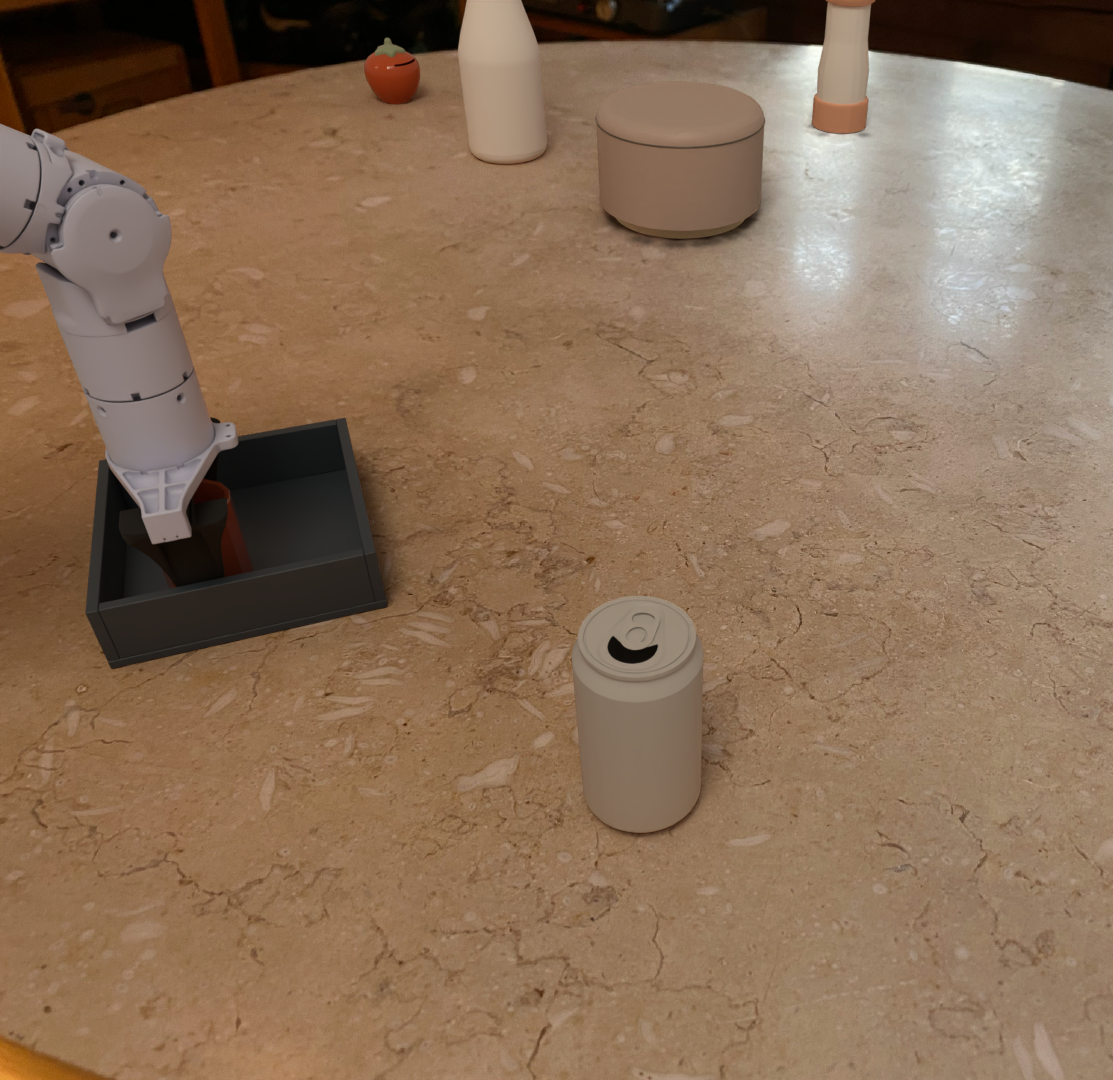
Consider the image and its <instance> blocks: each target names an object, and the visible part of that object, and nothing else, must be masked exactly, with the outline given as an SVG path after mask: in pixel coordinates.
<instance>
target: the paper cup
mask: <svg viewBox="0 0 1113 1080" xmlns="http://www.w3.org/2000/svg"><path fill="white" fill-rule="evenodd" d="M192 498H193V499H194V502H195V504H196V503H201V502H206V501H211V500H217V499H222V498H227V508H228V516H227V522H226V526H225V529H224V532H223V535H222V540H221V552H222V559H223V566H224V575H225V577H228V576H233V575H238V574H242V573H247V572H252V571H255V568H254V564H253V561H252V558H251V555H250V552H249V549H248V546H247V543H246V540H245V537H244V534H243V531H242V527H241V524H240V521H239V518H238V515H237V512H236V509H235V506H234V503H233V500H232V497H231V494H230V490H229V489H228V488H226V487H225V486H224V485H223V484H222V483H220V482H217V481H212V480H208V479H202V481H201V483H200V485H199V486H198V488H197V490H196V491H195V493H194V495H193V496H192ZM162 571H163V569H162ZM163 573H164V576H165V578H166V581H167V584H168V586H169V589H171V588H175V587H176V586H175V584H174V583H173V582H172V581H171V579H170V578H169V577H168V575H167V574H166V573H165V572H164V571H163Z"/></svg>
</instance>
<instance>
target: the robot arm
mask: <svg viewBox="0 0 1113 1080" xmlns="http://www.w3.org/2000/svg"><path fill="white" fill-rule="evenodd" d="M172 233H173V232H172V221H171V218H170V216H169V215H168V214H165V213H164V214H163V213H162V211H159V207H158V206H157V204H156V201H155V200H154V198H153V196H150V195H148V194H147V190H146V188H144V187H143V185H141V184H139V183H138V182H137V181H135V180H134V179H132V178H130V177H129V176H126V175H124V174H122V173H119V172H117V171H115V170H114V169H111V168H109V167H107V166H105V165H104V164H103V165H102V164H100V163H99V162H96V161H94V160H92V159H90V158H88V157H87V156H84V155H82V154H80V153H77V152H74V151H72V150H70V149H69V148H68V146H67V144H66V141H65V140H64V139H63V138H61V137H58V136H56V135H54V134H51V133H49V132H47V131H45V130H42V129H39V128H35V129H33V131H32V133H31V135H29V134H26V133H24V132H22V131H19V130H17V129H14V128H12V127H10V126H8V125H7V126H6V125H5V124H2V123H0V253H2V254H8V255H9V254H10V255H11V254H13V255H15V254H23V255H25V256H31V255H32V256H33V257H35V258H36V259H38V260H40V261H39V262H37V263H36V264H35V270H36V272H37V274H38V277H39V280H40V282H41V285H42V287H43V289H44V292H45V294H46V297H47V299H48V302H49V305H50V307H51V312H52V316H53V319H54V321H55V323H56V326H57V328H58V329H57V330H58V331H59V334H60V336H61V338H62V342H63V343H64V346H65V349H66V351H67V353H68V355H69V358H70V361H71V364H72V366H73V369H74V372H75V373H76V376H77V378H78V381H79V383H80V386H81V388H82V391H83V394H84V396H85V398H86V402H87V403H88V407H89V409H90V411H91V414H92V417H93V419H94V422H95V424H96V426H97V427H96V428H97V429H98V433H99V434H100V436H101V439H102V442H103V445H104V446H105V451H104V456H105V459H106V460H107V462H108V465H109V467H110V469H111V471H112V472H113V473H114V475H115V476H116V477H117V479H118V480H119V481H120V482H121V484H122V485H123V486H124V488H125V489H126V490H127V492H128V493H129V494H130V496H131V497H132V498H133V500H134V501H135V502H136V504H137V505H138V506H139V507H140V508H136V509H130V510H125V511H120V517H119V530H120V532H121V535H122V537H123V539H124V540H125V541H126V543H127V544H128V545H129V546H132V547H133V548H135V549H137V550H139V551H141V552H142V553H144V554H145V555H147V556H148V557H150V558H151V559H152V560H153V561H155V562H156V563H157V564H158V565H159V566H160V567H161V568H162V569H163V571H164V572H165V573H166V574H167V575H168V577H169V578H170V579H171V581H172V582H173V583H174V584H175V586H176V587H180V586H185V585H190V584H195V583H199V582H204V581H209V580H214V579H219V578H223V577H225V575H224V566H223V559H222V552H221V540H222V535H223V532H224V529H225V526H226V522H227V516H228V508H227V498H222V499H217V500H211V501H206V502H201V503H196V504H195V502H194V499H193V498H192V496H193V495H194V493H195V491H196V490H197V488H198V486H199V485H200V483H201V481H202V479H208V480H212V481H217V464H218V456H219V452H220V451H223V450H227V449H232V448H234V447H236V446H237V445H238V436H239V434H238V430H237V427H236V424H235V423H234V422H231V421H225V422H221V420H220V419H219V418H216V417H211V415H210V412H209V410H208V407H207V403H206V400H205V397H204V394H203V391H202V388H201V384H200V381H199V378H198V376H197V373H196V370H195V365H194V363H193V359H192V356H191V353H190V350H189V347H188V343H187V341H186V337H185V334H184V331H183V328H182V325H181V322H180V319H179V316H178V312H177V310H176V309H177V308H176V306H175V303H174V300H173V297H172V294H171V291H170V289H169V286H168V282H167V280H166V277H165V274H164V267H165V263H166V260H167V258H168V256H169V253H170V249H171V244H172V238H173V237H172V236H173V235H172Z"/></svg>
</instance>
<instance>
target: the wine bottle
mask: <svg viewBox="0 0 1113 1080" xmlns="http://www.w3.org/2000/svg"><path fill="white" fill-rule="evenodd" d="M457 58H458V66H459V74H460V83H461V91H462V100H463V107H464V114H465V115H464V116H465V123H466V124H465V125H466V132H467V137H468V138H467V140H468V147H469V150H470V152H471V153H472V155H473V156H474V157H476V158H477V159H479V160H481V161H483V162H487V163H492V164H499V165H512V164H521V163H527V162H530V161H533V160H536V159H538V158H539V157H540V156H542V155H543V154H544V153H545V151H546V149H547V144H548V136H547V123H546V111H545V110H546V109H545V99H544V98H545V97H544V83H543V72H542V71H543V70H542V58H541V50H540V46H539V44H538V41H537V38H536V35H535V32H534V29H533V26H532V23H531V22H530V19H529V17H528V14H527V12H526V9H525V7H524V3H523V1H522V0H466V3H465V8H464V13H463V18H462V23H461V27H460V31H459V39H458V46H457Z"/></svg>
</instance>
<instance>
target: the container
mask: <svg viewBox="0 0 1113 1080" xmlns="http://www.w3.org/2000/svg"><path fill="white" fill-rule="evenodd" d="M595 113H596V114H595V118H594V119H595V120H594V121H595V124H596V125H595V126H596V147H597V167H598V168H597V170H598V188H599V202H600V205H601V207H602V208H603V209H604V211H605V212H606V213H608V214H609V215H611V216H612V217H614V218H615V219H616V220H617V222H618V223H619V224H621V226H624V227H625V228H627V229H629V230H631V231H633V232H637V233H639V234H643V235H646V236H652V237H655V238H656V237H657V238H664V239H683V240H684V239H685V240H686V239H700V238H706V237H712V236H713V237H714V236H717V235H721V234H724V233H726V232H729V231H731V230H734V229H736V228H737V227H739V226H740V225H742V224H743V223H744V221H745V220H746V219H747V218H749V217H751V216H752V215H753V214H755V213H756V212H757V211H758V209H759V208H760V206H761V202H762V201H761V200H762V182H763V181H762V180H763V162H764V161H763V160H764V141H765V140H764V138H765V125H766V118H765V113H764V110H763V108H762V106H761V104H759V102H758V101H756V99H754V98H753V97H752V96H751V95H748V94H746V93H745V92H742V91H740V90H738V89H735V88H732V87H729V86H724V85H720V84H715V83H708V82H702V81H701V82H699V81H688V80H687V81H685V80H684V81H683V80H680V81H677V80H676V81H674V80H673V81H670V80H669V81H656V82H654V81H653V82H646V83H641V84H636V85H635V84H634V85H630V86H628V87H625V88H621V89H620V90H617V91H615V92H612V93H611V94H609V95H607V96H606V97H605V98H604V99H603V100H602V101H601V102H600V104H599V105H598V107H597V110H596V112H595Z"/></svg>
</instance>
